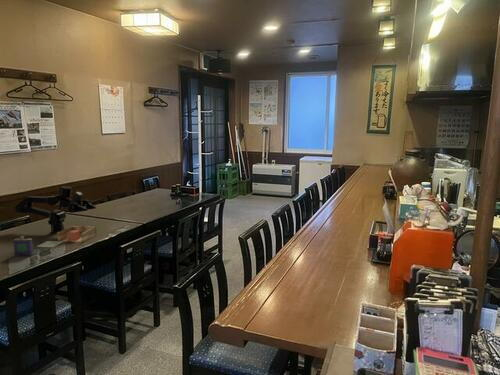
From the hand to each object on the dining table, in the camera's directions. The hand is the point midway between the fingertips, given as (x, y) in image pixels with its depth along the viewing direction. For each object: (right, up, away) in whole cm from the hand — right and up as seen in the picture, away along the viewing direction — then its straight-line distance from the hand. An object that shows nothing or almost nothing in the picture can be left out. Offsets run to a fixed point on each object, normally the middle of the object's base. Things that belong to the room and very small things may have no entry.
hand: (91, 208), depth 226 cm
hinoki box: (-5, -18, -7) cm, 20 cm away
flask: (-20, -23, -35) cm, 47 cm away
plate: (-15, -20, -19) cm, 32 cm away
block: (-6, -18, -11) cm, 22 cm away
